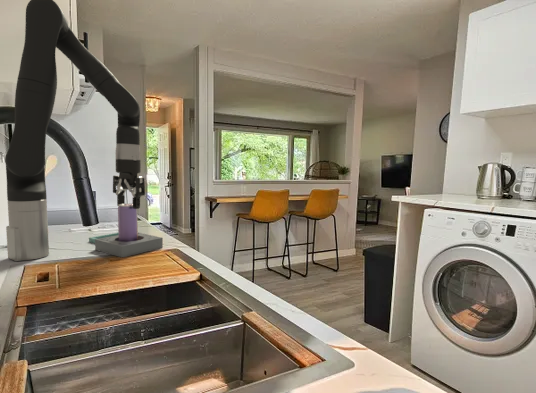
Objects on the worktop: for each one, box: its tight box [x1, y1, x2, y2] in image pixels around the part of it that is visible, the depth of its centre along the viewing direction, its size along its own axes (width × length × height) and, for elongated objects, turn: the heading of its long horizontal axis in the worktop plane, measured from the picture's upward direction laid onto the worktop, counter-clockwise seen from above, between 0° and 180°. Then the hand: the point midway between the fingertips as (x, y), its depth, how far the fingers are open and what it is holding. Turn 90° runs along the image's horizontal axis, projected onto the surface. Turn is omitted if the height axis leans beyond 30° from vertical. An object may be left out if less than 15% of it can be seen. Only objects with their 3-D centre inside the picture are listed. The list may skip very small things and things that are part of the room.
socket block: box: [94, 232, 164, 258], centre depth 106 cm, size 15×15×4 cm
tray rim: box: [88, 232, 118, 244], centre depth 116 cm, size 12×12×2 cm
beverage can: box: [117, 203, 139, 242], centre depth 106 cm, size 6×6×15 cm
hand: (128, 207), depth 104 cm, fingers open, 8 cm apart
